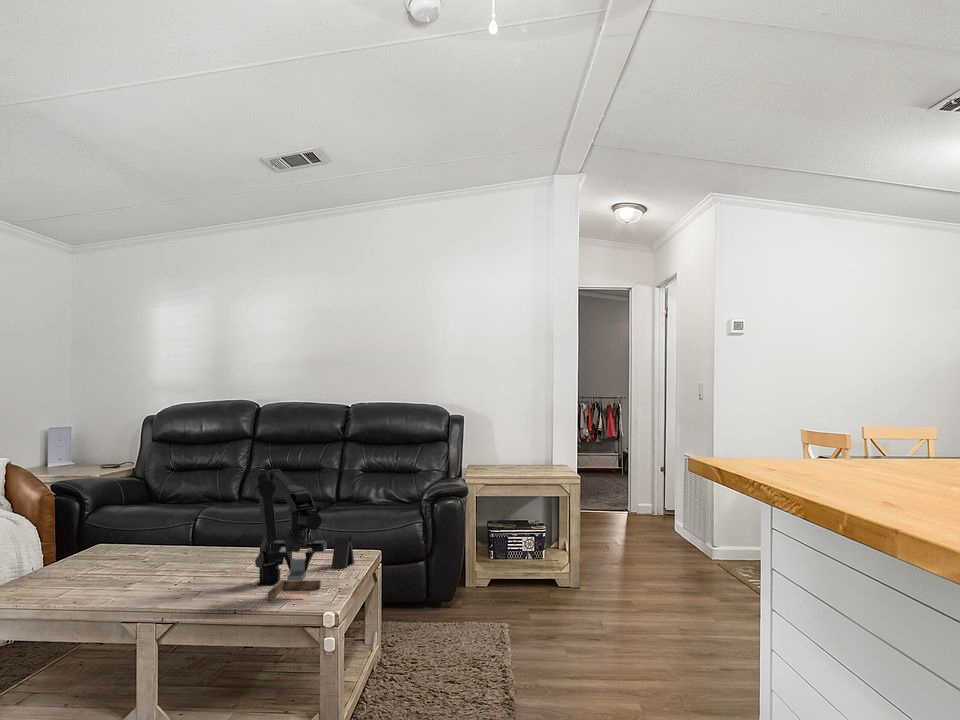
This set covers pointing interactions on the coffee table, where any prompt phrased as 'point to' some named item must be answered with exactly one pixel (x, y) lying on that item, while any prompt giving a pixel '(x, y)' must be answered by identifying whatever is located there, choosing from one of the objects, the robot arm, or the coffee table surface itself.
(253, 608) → the coffee table surface
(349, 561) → the phone stand
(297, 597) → the pad
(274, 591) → the l-shaped wooden corner frame
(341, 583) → the coffee table surface
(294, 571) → the angle bracket
